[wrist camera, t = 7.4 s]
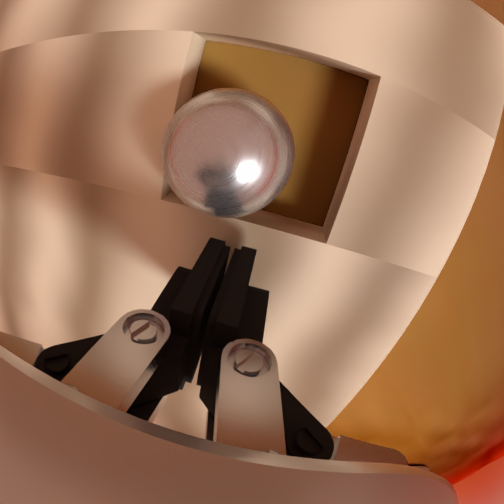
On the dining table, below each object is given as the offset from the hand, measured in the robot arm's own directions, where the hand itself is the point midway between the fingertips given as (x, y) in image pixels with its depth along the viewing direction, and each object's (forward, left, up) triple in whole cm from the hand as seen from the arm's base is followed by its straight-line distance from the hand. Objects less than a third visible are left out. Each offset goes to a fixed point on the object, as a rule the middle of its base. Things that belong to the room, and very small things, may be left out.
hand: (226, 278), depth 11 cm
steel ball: (+1, -4, 0) cm, 4 cm away
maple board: (+7, +3, -2) cm, 8 cm away
